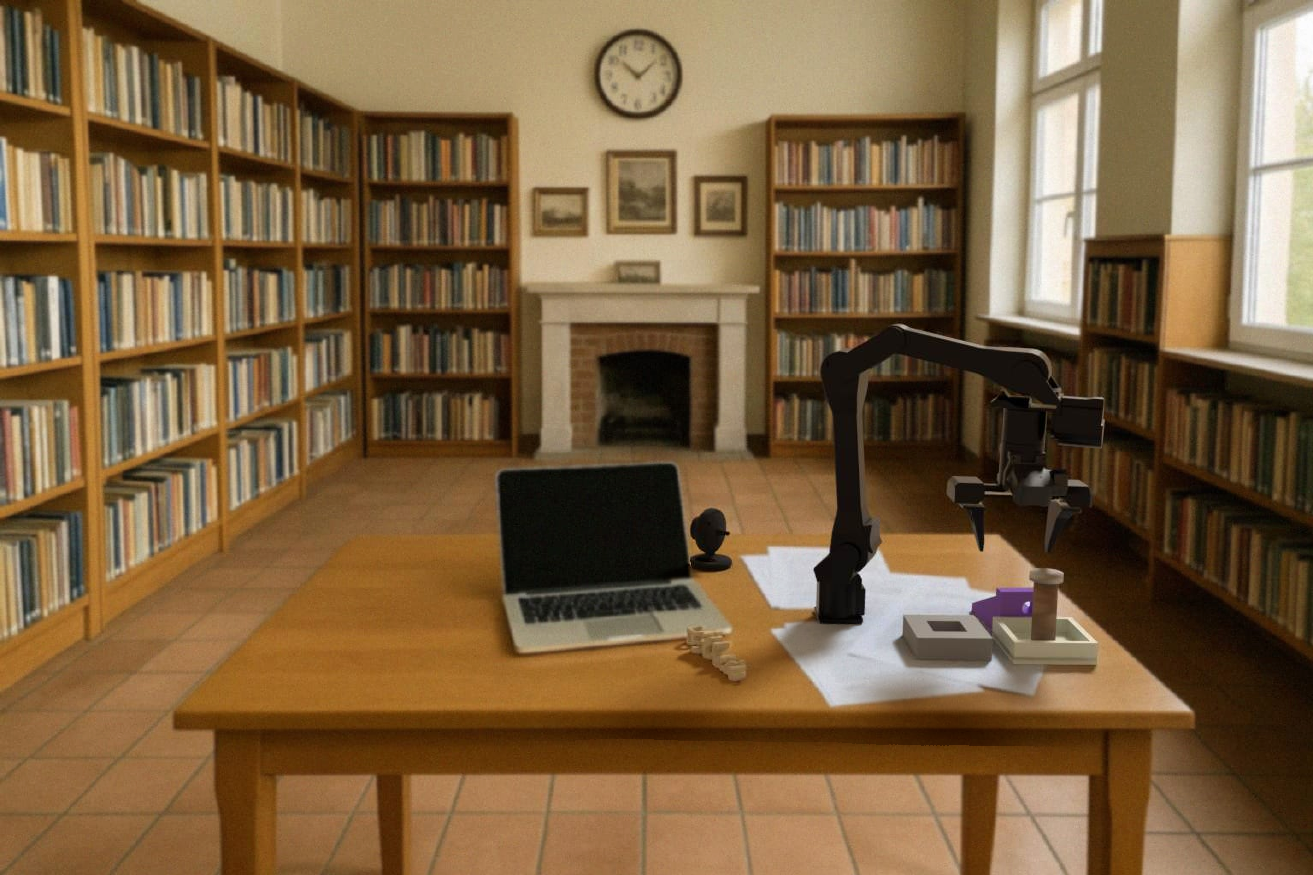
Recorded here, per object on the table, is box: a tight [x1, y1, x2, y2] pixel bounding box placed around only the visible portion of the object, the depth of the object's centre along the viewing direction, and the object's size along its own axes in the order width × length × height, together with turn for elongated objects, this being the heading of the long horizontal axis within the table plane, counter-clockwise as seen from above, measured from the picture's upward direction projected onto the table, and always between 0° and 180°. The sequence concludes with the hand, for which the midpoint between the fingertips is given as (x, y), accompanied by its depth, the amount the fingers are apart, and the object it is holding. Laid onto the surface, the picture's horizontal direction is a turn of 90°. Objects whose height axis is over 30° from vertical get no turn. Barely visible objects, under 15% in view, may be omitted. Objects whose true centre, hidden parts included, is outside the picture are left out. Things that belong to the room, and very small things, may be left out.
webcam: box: [689, 507, 733, 572], centre depth 209 cm, size 8×8×10 cm
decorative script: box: [686, 625, 747, 682], centre depth 163 cm, size 17×4×3 cm, turn 23°
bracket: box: [971, 586, 1033, 631], centre depth 179 cm, size 12×7×7 cm, turn 4°
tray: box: [991, 616, 1099, 666], centre depth 167 cm, size 11×11×3 cm
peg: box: [1028, 567, 1064, 641], centre depth 167 cm, size 4×4×10 cm
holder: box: [902, 614, 994, 661], centre depth 169 cm, size 10×10×3 cm
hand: (1014, 552), depth 171 cm, fingers open, 9 cm apart
